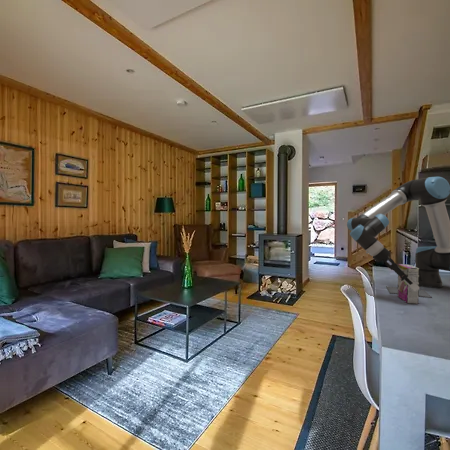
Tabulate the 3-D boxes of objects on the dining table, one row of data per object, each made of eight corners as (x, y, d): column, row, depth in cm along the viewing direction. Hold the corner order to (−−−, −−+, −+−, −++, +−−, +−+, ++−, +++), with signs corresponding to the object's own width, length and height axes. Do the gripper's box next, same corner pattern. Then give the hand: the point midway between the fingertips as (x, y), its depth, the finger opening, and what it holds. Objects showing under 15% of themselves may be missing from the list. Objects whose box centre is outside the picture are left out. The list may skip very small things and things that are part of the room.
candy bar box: (396, 297, 138) (397, 263, 138) (408, 297, 137) (409, 264, 137) (406, 303, 127) (407, 267, 127) (418, 304, 126) (420, 268, 126)
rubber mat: (424, 291, 151) (424, 290, 151) (432, 298, 137) (432, 297, 137) (386, 287, 159) (386, 286, 159) (389, 293, 144) (389, 292, 144)
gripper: (370, 254, 149) (403, 286, 143) (373, 259, 127) (412, 297, 121) (381, 245, 147) (416, 277, 140) (387, 248, 125) (427, 286, 119)
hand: (414, 286), depth 131 cm, fingers closed on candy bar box, 12 cm apart
